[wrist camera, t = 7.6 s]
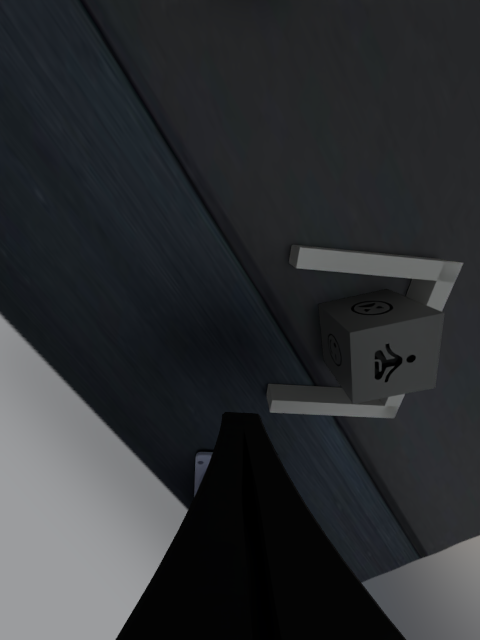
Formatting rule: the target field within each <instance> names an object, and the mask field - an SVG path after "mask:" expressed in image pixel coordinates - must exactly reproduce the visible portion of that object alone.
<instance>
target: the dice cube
mask: <svg viewBox="0 0 480 640" xmlns="http://www.w3.org/2000/svg"><path fill="white" fill-rule="evenodd" d="M318 307H319V317H320V328H321V338H322V349H323V359H324V362H325V364H326V365H327V366H328V368H329V369H330V371H331V372H332V374H333V375H334V377H335V378H336V380H337V381H338V383H339V384H340V386H341V387H342V389H343V390H344V391H345V393H346V394H347V396H348V397H349V399H350V400H351V402H352V403H353V404H355V403H360V402H365V401H370V400H376V399H381V398H386V397H391V396H396V395H401V394H406V393H411V392H417V391H422V390H427V389H432V388H435V385H436V377H437V369H438V361H439V353H440V345H441V337H442V328H443V320H444V312H441V311H439V310H436V309H434V308H432V307H429V306H427V305H424V304H422V303H419V302H417V301H415V300H412V299H410V298H407V297H405V296H403V295H400V294H398V293H395V292H393V291H390V290H388V289H385V290H380V291H376V292H371V293H366V294H362V295H357V296H353V297H348V298H343V299H339V300H334V301H330V302H325V303H320V304H318Z"/></svg>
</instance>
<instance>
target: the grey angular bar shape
mask: <svg viewBox="0 0 480 640" xmlns="http://www.w3.org/2000/svg"><path fill="white" fill-rule="evenodd" d="M289 264H291V265H292V266H294V267H295V268H300V269H311V270H323V271H334V272H345V273H356V274H367V275H378V276H389V277H400V278H412V281H411V283H410V286H409V289H408V291H407V294H406V297H407V298H410V299H412V300H415V301H417V302H419V303H422V304H424V305H427V306H429V307H432V308H434V309H436V310H439V311H441V312H442V310H443V307H444V305H445V303H446V301H447V298H448V296H449V294H450V292H451V290H452V287H453V285H454V283H455V281H456V278H457V276H458V274H459V272H460V269H461V267H462V265H463V263H460V262H454V261H448V260H442V259H436V258H426V257H415V256H405V255H395V254H384V253H374V252H364V251H353V250H343V249H333V248H322V247H312V246H302V245H292V246H291V252H290V258H289ZM404 395H405V394H401V395H396V396H391V397H386V398H381V399H376V400H370V401H365V402H360V403H355V404H353V403H352V402H351V400H350V399H349V397H348V396H347V394H346V393H345V391H344V390H343V389H342V388H338V387H320V386H302V385H283V384H268V388H267V394H266V396H267V401H268V406H269V411H270V412H271V413H292V414H314V415H335V416H356V417H378V418H394V417H395V415H396V413H397V411H398V408H399V406H400V404H401V402H402V399H403V397H404Z"/></svg>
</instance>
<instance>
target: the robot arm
mask: <svg viewBox="0 0 480 640" xmlns="http://www.w3.org/2000/svg"><path fill="white" fill-rule="evenodd" d="M116 640H406V639H405V638H404V637H403V635H402V634H401V633H400V632H399V630H398V629H397V628H396V627H395V625H394V624H393V623H392V622H391V621H390V619H389V618H388V617H387V616H386V614H385V613H384V612H383V611H382V609H381V608H380V607H379V605H378V604H377V603H376V601H375V600H374V599H373V598H372V596H371V595H370V594H369V592H368V591H367V590H366V589H365V587H364V586H363V585H362V583H361V582H360V581H359V579H358V578H357V577H356V576H355V574H354V573H353V572H352V570H351V569H350V568H349V567H348V565H347V564H346V562H345V561H344V560H343V558H342V557H341V556H340V554H339V553H338V551H337V550H336V549H335V547H334V546H333V544H332V543H331V542H330V540H329V539H328V537H327V536H326V534H325V533H324V531H323V530H322V528H321V527H320V525H319V524H318V523H317V521H316V520H315V518H314V517H313V515H312V513H311V512H310V510H309V509H308V507H307V506H306V504H305V502H304V501H303V499H302V497H301V496H300V494H299V493H298V491H297V489H296V488H295V486H294V484H293V482H292V481H291V479H290V477H289V475H288V474H287V472H286V470H285V468H284V466H283V464H282V463H281V461H280V459H279V456H278V455H277V453H276V451H275V449H274V447H273V445H272V443H271V441H270V439H269V437H268V434H267V432H266V430H265V428H264V425H263V423H262V420H261V418H260V416H259V415H258V414H253V413H234V412H225V413H224V414H222V423H221V428H220V432H219V435H218V439H217V442H216V445H215V448H214V451H213V452H198V453H197V454H196V459H195V491H194V499H193V501H192V503H191V506H190V508H189V510H188V512H187V514H186V516H185V518H184V520H183V522H182V524H181V526H180V528H179V530H178V532H177V534H176V536H175V537H174V539H173V541H172V543H171V545H170V547H169V549H168V550H167V552H166V554H165V556H164V558H163V560H162V562H161V563H160V565H159V567H158V569H157V571H156V572H155V574H154V576H153V578H152V579H151V581H150V583H149V585H148V586H147V588H146V590H145V592H144V593H143V595H142V596H141V598H140V600H139V602H138V603H137V605H136V607H135V608H134V610H133V611H132V613H131V615H130V617H129V618H128V620H127V622H126V623H125V625H124V627H123V628H122V630H121V632H120V633H119V635H118V637H117V638H116Z"/></svg>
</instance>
